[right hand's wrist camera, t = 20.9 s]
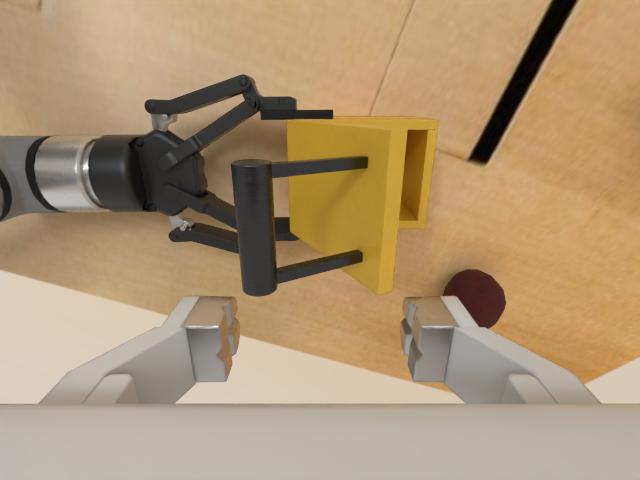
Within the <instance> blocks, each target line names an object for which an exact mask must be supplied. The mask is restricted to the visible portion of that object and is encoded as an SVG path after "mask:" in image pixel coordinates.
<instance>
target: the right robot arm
mask: <svg viewBox="0 0 640 480" xmlns="http://www.w3.org/2000/svg"><path fill="white" fill-rule="evenodd" d="M237 310H238V309H237V302H236V299H235V297H219V296H202V297H201V296H185V297H182V299H181V300H180V301H179V303H178V304H177V305H176V307H175V308H174V310H173V311H172V312H171V314H170V315H169V316H168V318H167V319H166V321H165V322H164V323H163V325H162V326H161V327H155V328H153V329H151V330H149V331H147V332H145V333H143V334H141V335H139V336H137V337H136V338H134V339H132V340H130V341H128V342H126V343H124V344H122V345H120V346H118V347H116V348H114V349H112V350H110V351H108V352H106V353H104V354H103V355H101V356H99V357H97V358H95V359H93V360H91V361H89V362H87V363H85V364H83V365H81V366H79V367H77V368H75V369H73V370H71V371H70V372H68V373H67V374H66V375H65V376H64V377H63V378H62V379H61V380H60V381H59V382H58V383H57V384H56V385H55V386H54V388H53V389H52V390H51V391H50V392H49V393H48V394H47V395H46V396H45V397H44V398H43V399H42V400H41V401H40V402H39V403H38V404H0V480H640V404H602V403H601V402H600V401H599V400H598V399H597V398H596V397H595V396H594V395H593V394H592V393H591V392H590V391H589V389H588V388H587V387H586V386H585V385H584V384H583V383H582V382H581V381H580V380H579V379H578V378H577V377H576V376H575V375H574V374H573V373H572V372H570V371H568V370H566V369H564V368H562V367H561V366H559V365H557V364H555V363H553V362H551V361H549V360H547V359H545V358H543V357H541V356H539V355H537V354H535V353H533V352H531V351H530V350H528V349H526V348H524V347H522V346H520V345H518V344H516V343H514V342H512V341H510V340H508V339H506V338H504V337H502V336H501V335H499V334H497V333H495V332H493V331H491V330H489V329H487V328H485V327H479V326H478V325H477V323H476V322H475V321H474V319H473V318H472V317H471V315H470V314H469V312H468V311H467V310H466V308H465V307H464V306H463V304H462V303H461V302H460V300H459V299H458V297H456V296H434V297H405V298H404V301H403V309H402V310H403V312H404V315H405V318H404V319H403V320H402V322H401V329H400V335H401V344H402V349H403V352H404V354H406V355H407V356H408V367H409V369H410V372H411V375H412V378H413V381H414V382H444V384H445V385H446V386H447V387H448V388H449V389H451V390H452V391H453V392H454V393H455V394H456V395H457V396H458V397H459V398H460V399H462V400H463V401H464V402H465V403H466V404H174V403H175V402H176V401H178V400H179V399H180V398H181V397H182V396H183V395H184V394H185V393H186V392H187V391H188V390H190V389H191V388H192V387H193V386H194V385H195V384H196V383H195V382H225V381H227V378H228V375H229V372H230V369H231V367H232V356H233V355H234V354H236V352H237V349H238V344H239V337H240V328H239V322H238V320H237V319H236V318H235V315H236V312H237Z"/></svg>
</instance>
